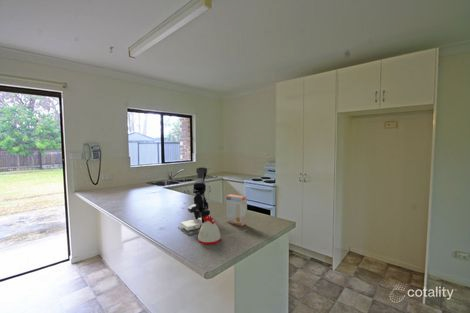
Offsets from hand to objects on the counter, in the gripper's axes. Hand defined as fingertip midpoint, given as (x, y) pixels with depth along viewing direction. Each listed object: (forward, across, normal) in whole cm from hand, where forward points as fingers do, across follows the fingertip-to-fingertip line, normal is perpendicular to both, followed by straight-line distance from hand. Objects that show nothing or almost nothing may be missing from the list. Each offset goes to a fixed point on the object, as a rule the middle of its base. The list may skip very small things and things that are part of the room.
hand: (199, 222), depth 152 cm
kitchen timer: (+4, +21, -5) cm, 22 cm away
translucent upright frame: (+4, +9, +25) cm, 27 cm away
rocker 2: (0, 0, +4) cm, 4 cm away
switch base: (+4, 0, -2) cm, 4 cm away
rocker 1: (0, 0, -7) cm, 7 cm away
